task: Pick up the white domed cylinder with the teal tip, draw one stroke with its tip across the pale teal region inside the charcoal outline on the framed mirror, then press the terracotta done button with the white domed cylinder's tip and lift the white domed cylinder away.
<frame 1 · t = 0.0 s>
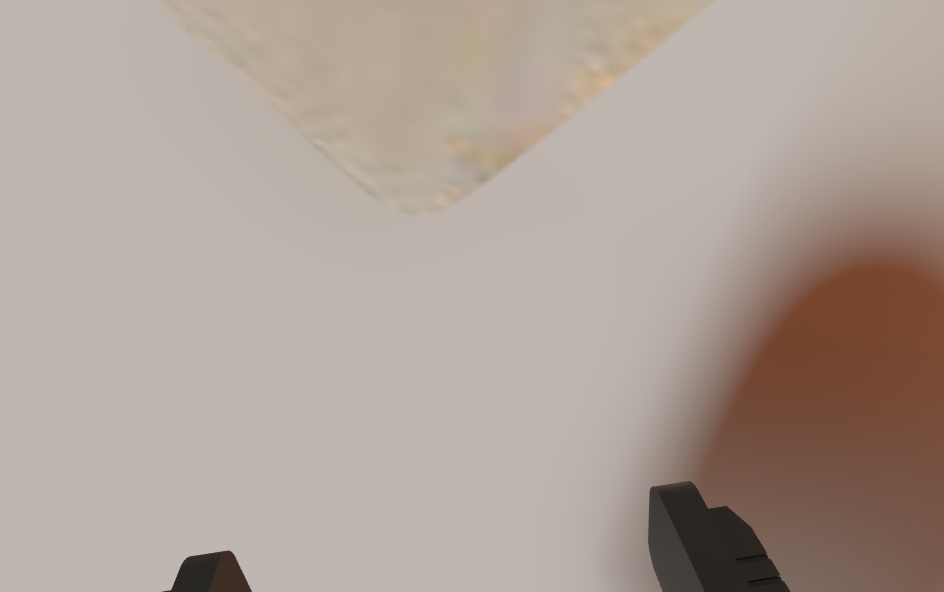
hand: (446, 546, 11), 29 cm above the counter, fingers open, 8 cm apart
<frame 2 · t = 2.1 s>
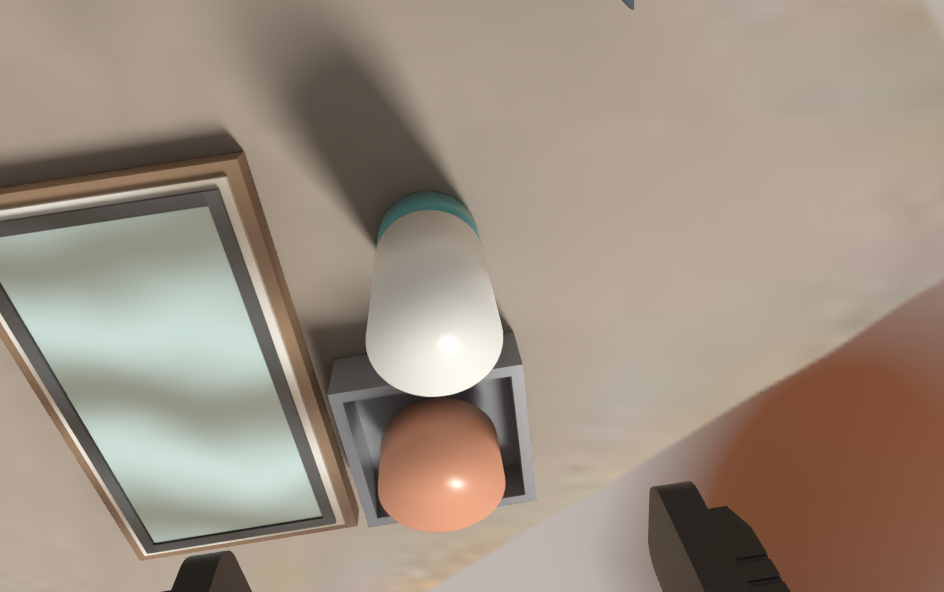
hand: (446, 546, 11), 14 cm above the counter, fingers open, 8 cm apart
button housing: (437, 414, 28), on the counter
done button: (440, 465, 25), point 3 cm above the counter, slide at 0.0 cm
framed mirror: (187, 382, 26), on the counter
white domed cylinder: (428, 239, 24), on the counter
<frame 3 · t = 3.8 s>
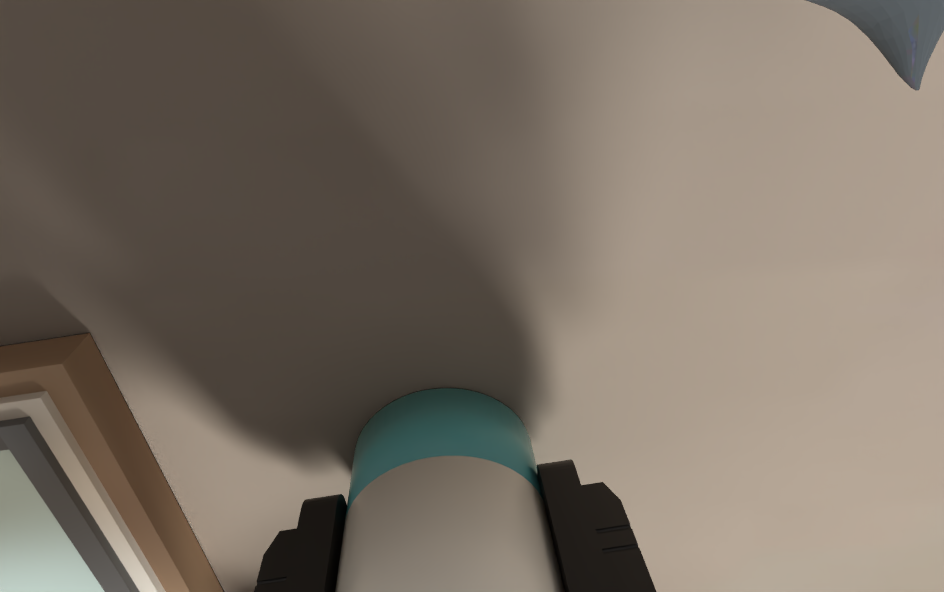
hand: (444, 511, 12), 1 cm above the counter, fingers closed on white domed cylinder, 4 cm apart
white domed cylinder: (443, 459, 13), on the counter, touching gripper
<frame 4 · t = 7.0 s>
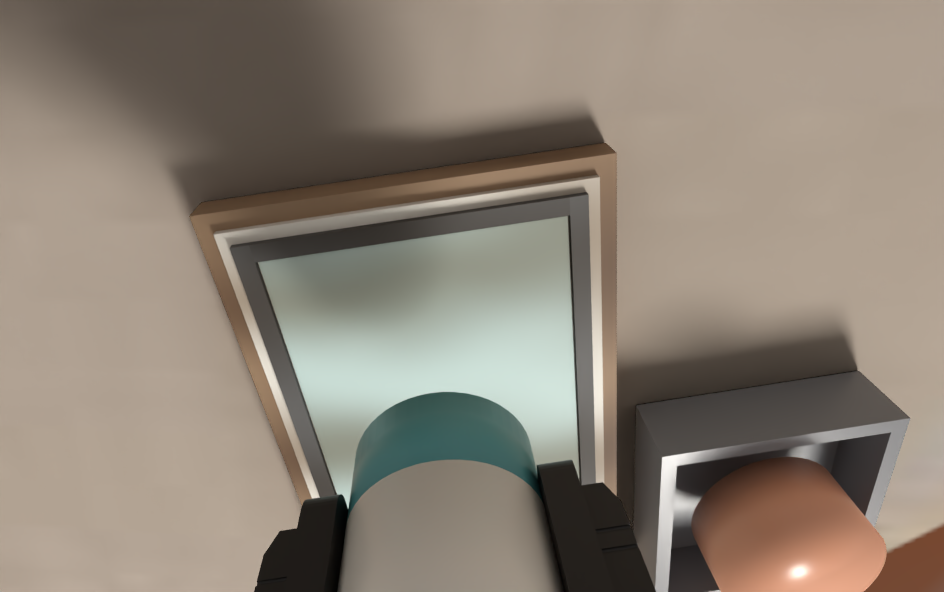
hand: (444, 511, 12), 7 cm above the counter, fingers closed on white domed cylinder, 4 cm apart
button housing: (736, 468, 23), on the counter
done button: (782, 541, 20), point 3 cm above the counter, slide at 0.0 cm
framed mirror: (453, 433, 21), on the counter
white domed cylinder: (444, 462, 13), point 6 cm above the counter, touching gripper
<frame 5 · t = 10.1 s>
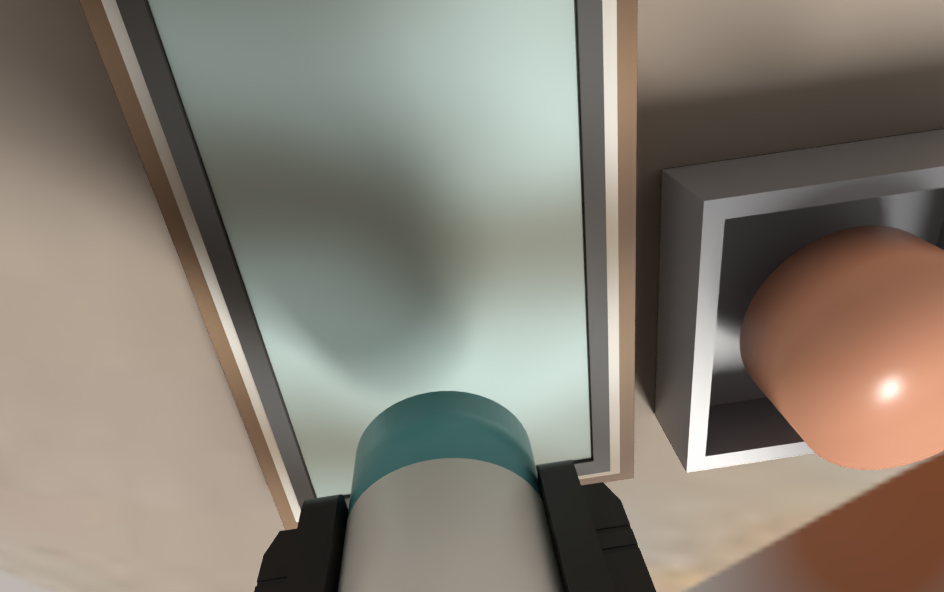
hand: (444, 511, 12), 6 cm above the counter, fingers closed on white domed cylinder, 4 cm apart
button housing: (795, 285, 17), on the counter
done button: (873, 347, 14), point 3 cm above the counter, slide at 0.0 cm
framed mirror: (408, 206, 15), on the counter
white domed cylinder: (444, 461, 14), point 4 cm above the counter, touching gripper
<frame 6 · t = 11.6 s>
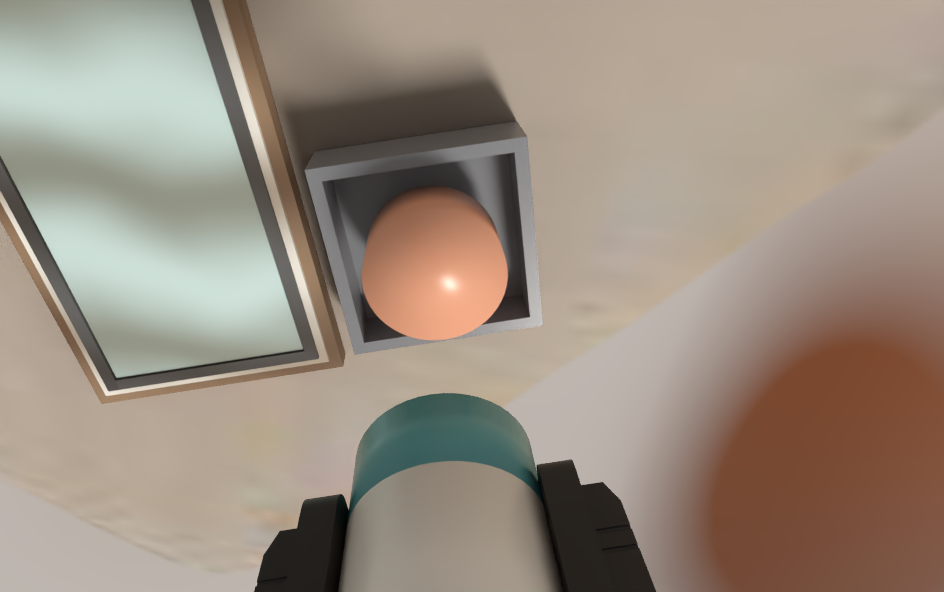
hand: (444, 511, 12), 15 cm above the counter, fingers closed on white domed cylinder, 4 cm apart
button housing: (432, 229, 25), on the counter
done button: (434, 263, 22), point 3 cm above the counter, slide at 0.0 cm
framed mirror: (149, 176, 23), on the counter
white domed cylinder: (444, 463, 14), point 13 cm above the counter, touching gripper
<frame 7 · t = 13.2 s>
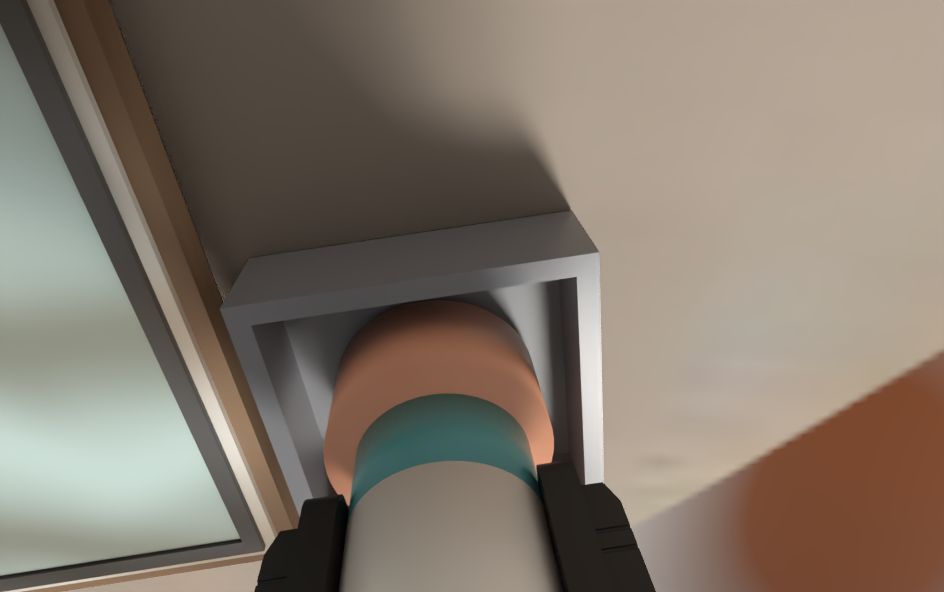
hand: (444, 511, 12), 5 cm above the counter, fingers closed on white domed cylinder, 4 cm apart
button housing: (435, 365, 17), on the counter
done button: (438, 418, 15), point 2 cm above the counter, slide at 1.1 cm, touching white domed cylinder
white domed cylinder: (443, 463, 14), point 4 cm above the counter, touching done button, gripper
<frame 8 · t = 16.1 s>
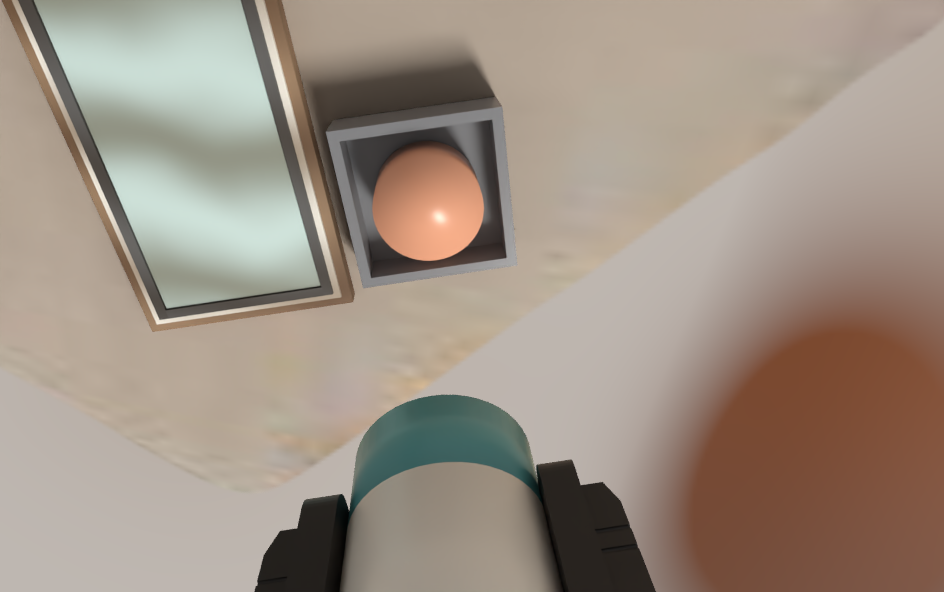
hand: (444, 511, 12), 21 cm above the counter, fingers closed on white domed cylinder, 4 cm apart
button housing: (427, 187, 31), on the counter
done button: (428, 200, 29), point 2 cm above the counter, slide at 1.1 cm
framed mirror: (199, 139, 29), on the counter
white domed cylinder: (444, 464, 14), point 20 cm above the counter, touching gripper
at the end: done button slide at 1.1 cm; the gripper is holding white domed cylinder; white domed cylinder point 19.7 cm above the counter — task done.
